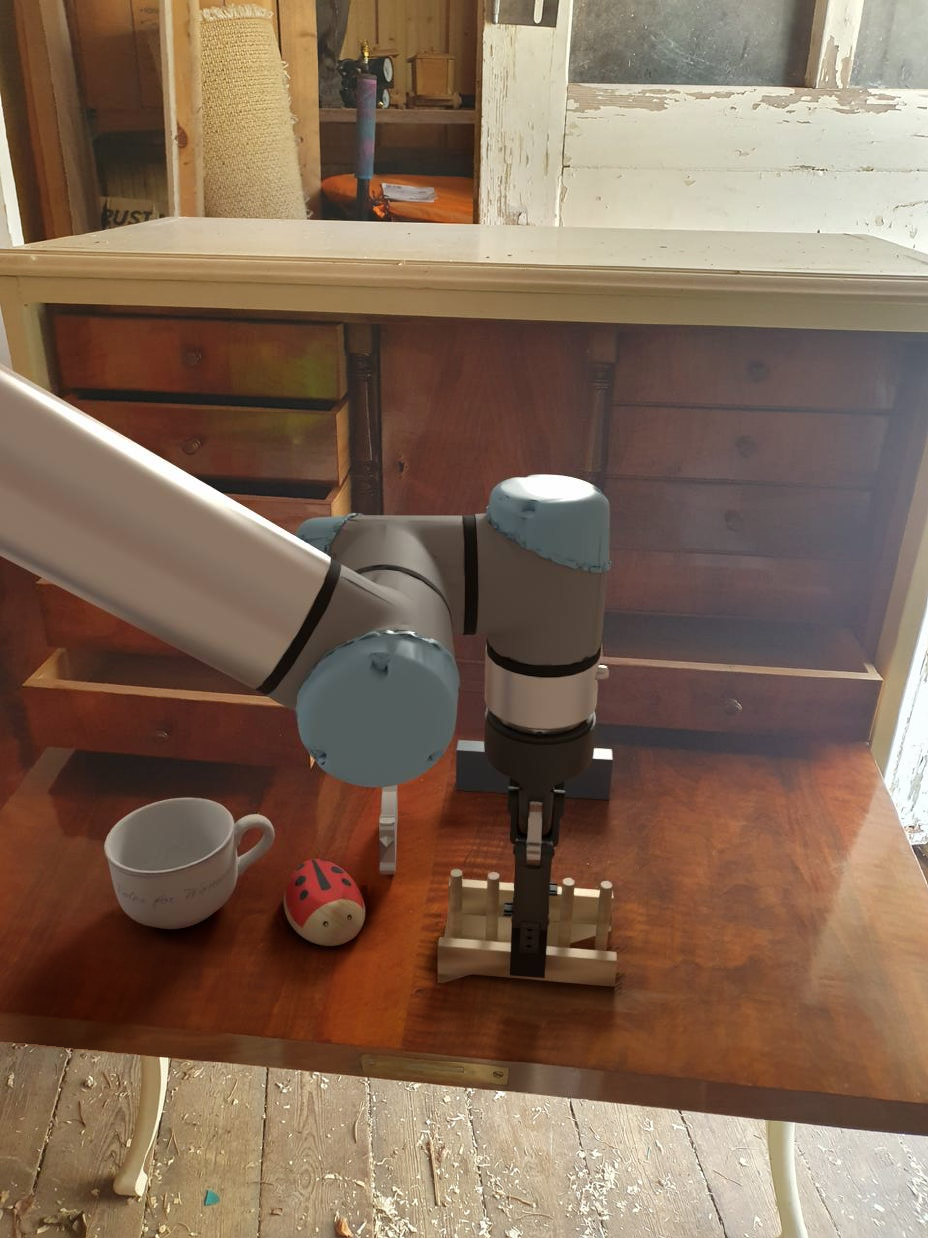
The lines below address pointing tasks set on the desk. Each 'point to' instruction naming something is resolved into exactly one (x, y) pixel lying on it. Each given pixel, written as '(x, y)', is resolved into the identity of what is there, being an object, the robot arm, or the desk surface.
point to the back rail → (485, 778)
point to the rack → (485, 932)
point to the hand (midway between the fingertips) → (527, 969)
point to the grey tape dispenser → (388, 830)
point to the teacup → (180, 860)
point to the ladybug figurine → (323, 903)
